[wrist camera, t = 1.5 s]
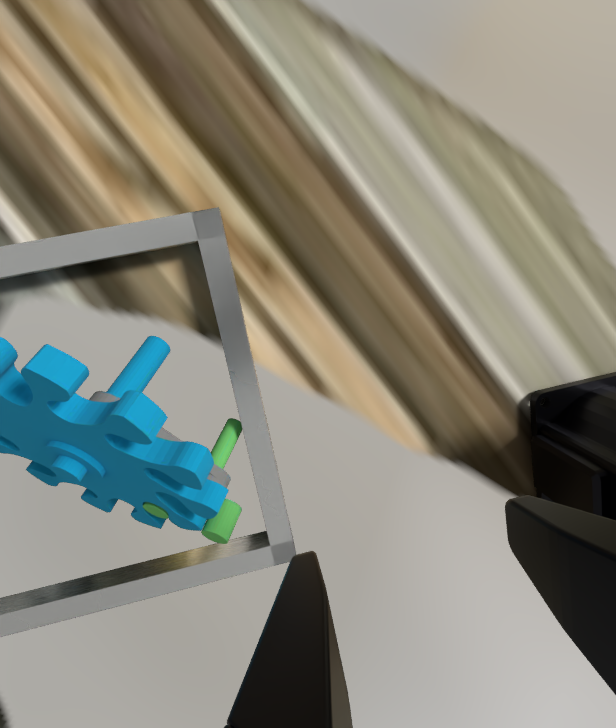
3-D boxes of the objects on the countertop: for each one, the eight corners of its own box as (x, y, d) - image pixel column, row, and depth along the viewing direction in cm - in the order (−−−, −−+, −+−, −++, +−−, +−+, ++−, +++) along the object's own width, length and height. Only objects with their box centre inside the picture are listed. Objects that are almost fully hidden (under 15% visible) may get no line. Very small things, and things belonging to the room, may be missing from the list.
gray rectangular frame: (220, 210, 18) (218, 207, 17) (294, 543, 22) (297, 559, 20) (-298, 304, 16) (-338, 307, 15) (-122, 650, 20) (-145, 674, 19)
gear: (-102, 420, 16) (-84, 313, 9) (14, 310, 20) (90, 174, 13) (153, 561, 21) (296, 559, 14) (211, 449, 24) (348, 402, 17)
